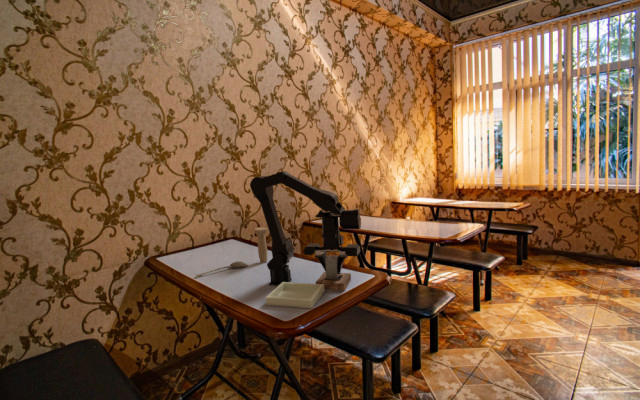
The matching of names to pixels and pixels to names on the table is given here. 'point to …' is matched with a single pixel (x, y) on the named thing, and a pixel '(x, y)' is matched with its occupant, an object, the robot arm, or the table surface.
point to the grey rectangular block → (332, 268)
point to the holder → (335, 282)
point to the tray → (295, 295)
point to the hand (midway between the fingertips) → (333, 273)
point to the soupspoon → (234, 264)
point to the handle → (262, 244)
